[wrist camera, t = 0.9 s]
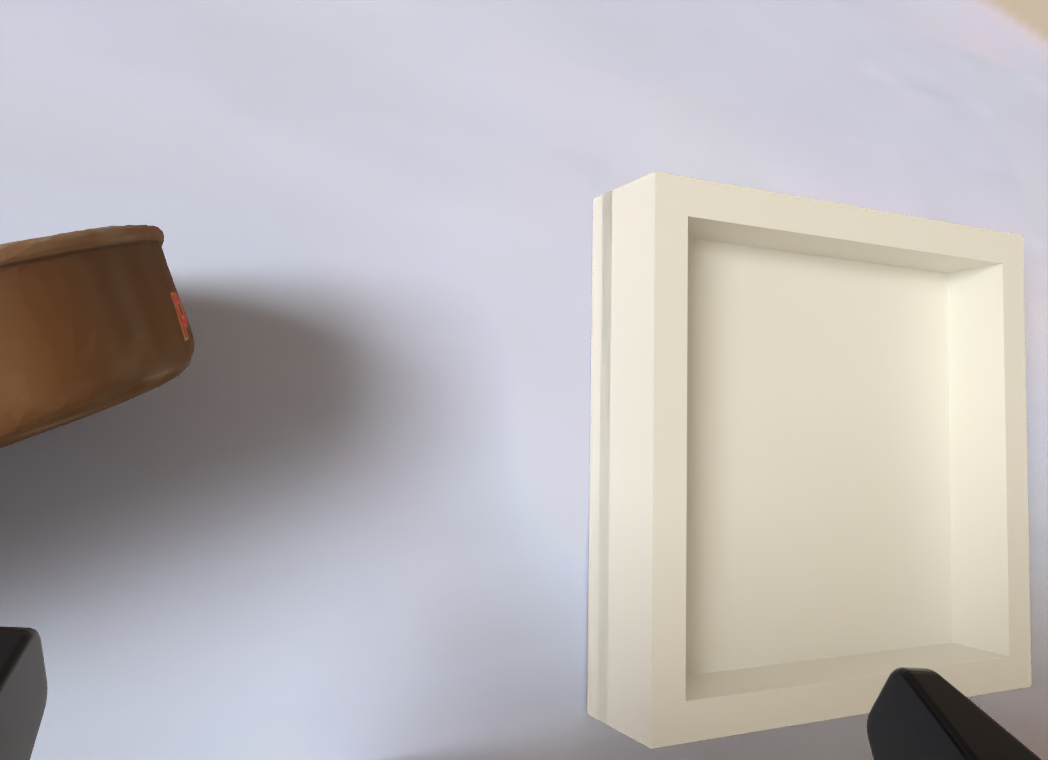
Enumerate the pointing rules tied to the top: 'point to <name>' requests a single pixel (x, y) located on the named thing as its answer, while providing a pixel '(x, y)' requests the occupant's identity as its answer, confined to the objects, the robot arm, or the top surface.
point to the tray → (799, 459)
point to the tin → (85, 326)
